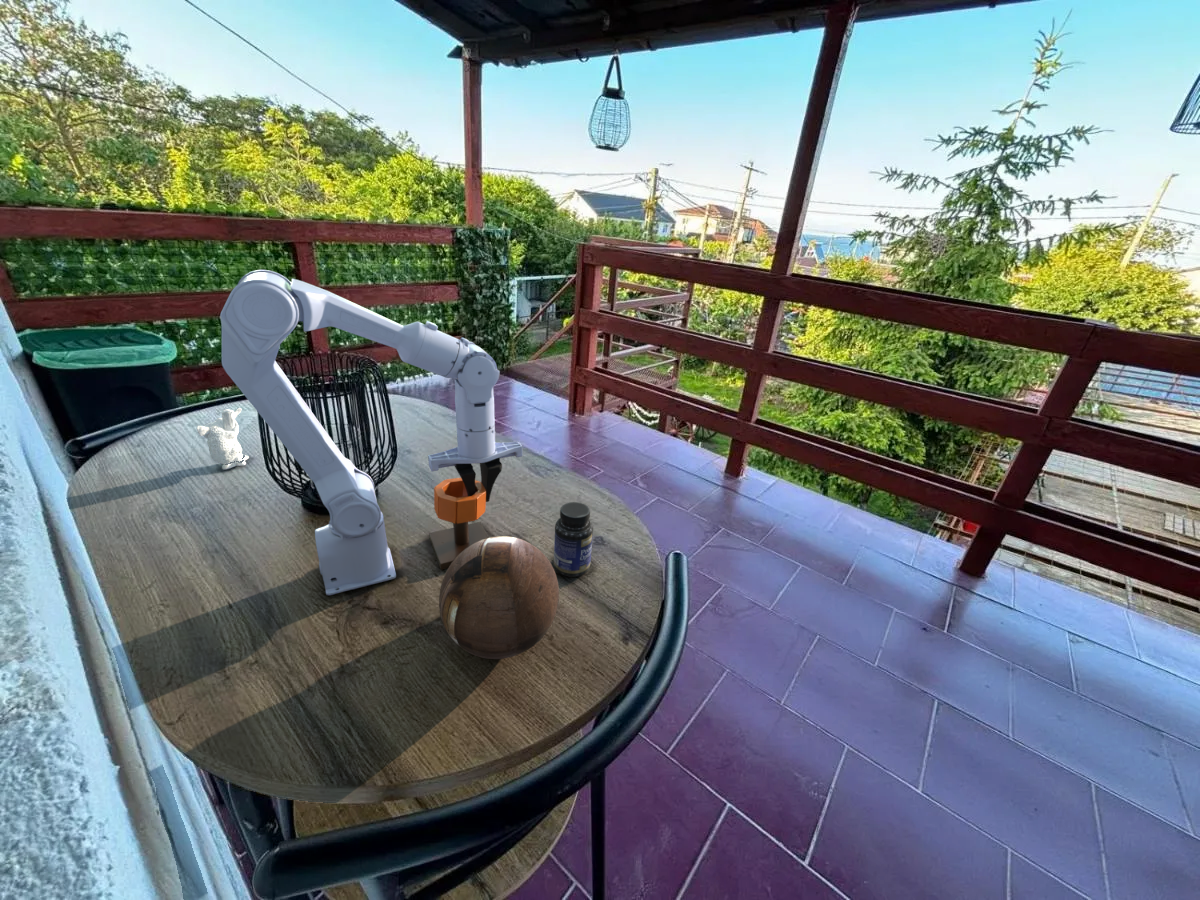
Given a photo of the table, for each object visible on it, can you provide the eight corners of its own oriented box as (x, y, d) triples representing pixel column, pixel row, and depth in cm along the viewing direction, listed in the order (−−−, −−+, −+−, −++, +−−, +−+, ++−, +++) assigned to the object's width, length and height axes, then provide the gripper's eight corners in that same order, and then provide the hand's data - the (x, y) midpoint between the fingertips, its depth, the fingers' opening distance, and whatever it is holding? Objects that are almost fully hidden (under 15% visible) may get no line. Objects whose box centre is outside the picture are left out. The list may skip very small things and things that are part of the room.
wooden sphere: (540, 589, 74) (541, 507, 67) (571, 667, 61) (578, 575, 55) (438, 611, 68) (429, 524, 62) (450, 702, 56) (441, 604, 49)
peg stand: (441, 569, 76) (437, 532, 73) (429, 538, 83) (425, 503, 80) (496, 555, 80) (495, 519, 77) (480, 526, 87) (479, 492, 84)
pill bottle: (585, 581, 76) (589, 523, 71) (548, 574, 77) (550, 516, 72) (593, 557, 82) (598, 502, 77) (559, 551, 83) (561, 496, 78)
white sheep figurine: (248, 453, 105) (234, 402, 100) (263, 463, 102) (249, 410, 97) (202, 466, 99) (185, 412, 94) (216, 477, 96) (199, 422, 91)
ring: (441, 526, 74) (441, 504, 72) (431, 502, 80) (431, 480, 78) (489, 518, 77) (490, 497, 76) (476, 495, 83) (477, 475, 82)
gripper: (512, 410, 80) (512, 481, 86) (421, 421, 73) (428, 497, 79) (527, 426, 75) (526, 500, 80) (430, 439, 68) (438, 519, 74)
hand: (479, 500), depth 79 cm, fingers closed on ring, 2 cm apart
